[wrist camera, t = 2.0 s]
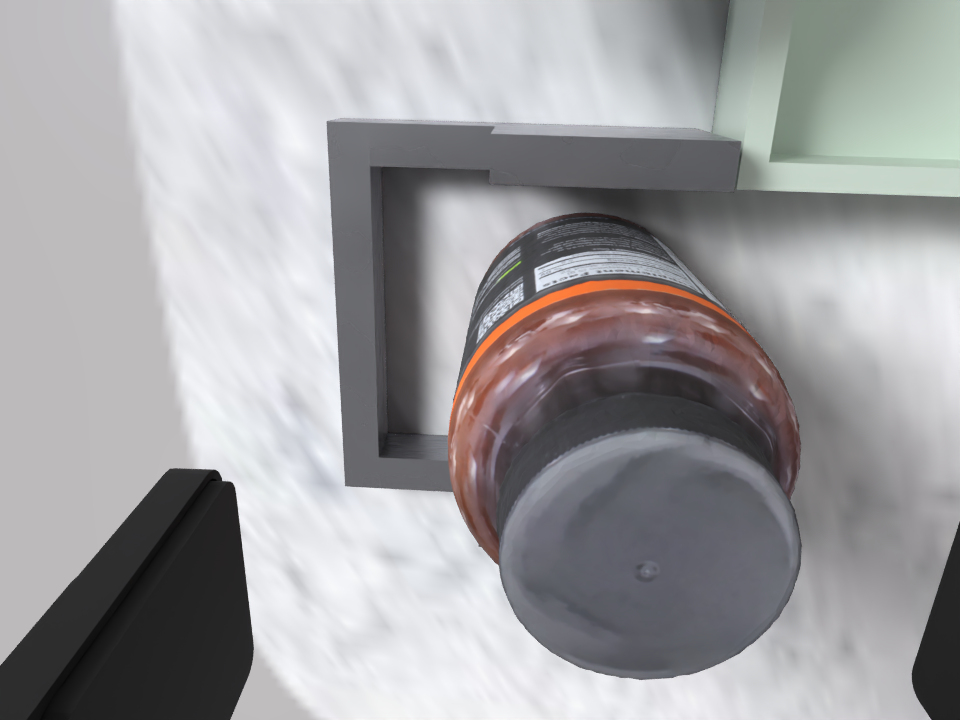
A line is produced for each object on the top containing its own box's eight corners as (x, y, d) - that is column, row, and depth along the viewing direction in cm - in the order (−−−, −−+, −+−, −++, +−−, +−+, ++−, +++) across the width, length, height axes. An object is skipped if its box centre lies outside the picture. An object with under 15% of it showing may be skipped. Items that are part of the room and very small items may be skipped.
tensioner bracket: (696, 128, 18) (741, 141, 14) (651, 475, 22) (677, 557, 18) (341, 118, 18) (295, 128, 15) (356, 460, 22) (322, 537, 18)
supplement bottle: (649, 431, 21) (775, 781, 11) (453, 383, 21) (382, 692, 10) (721, 236, 19) (972, 432, 8) (503, 181, 19) (478, 311, 8)
